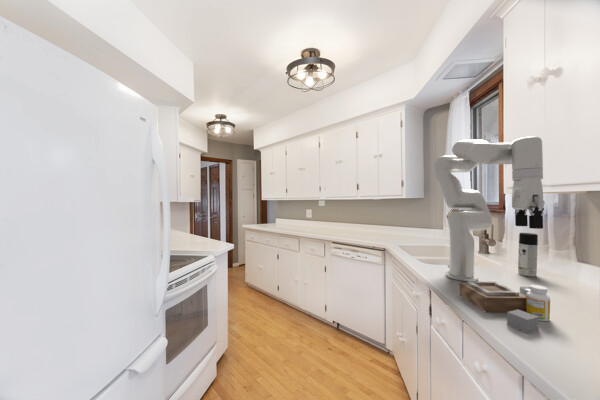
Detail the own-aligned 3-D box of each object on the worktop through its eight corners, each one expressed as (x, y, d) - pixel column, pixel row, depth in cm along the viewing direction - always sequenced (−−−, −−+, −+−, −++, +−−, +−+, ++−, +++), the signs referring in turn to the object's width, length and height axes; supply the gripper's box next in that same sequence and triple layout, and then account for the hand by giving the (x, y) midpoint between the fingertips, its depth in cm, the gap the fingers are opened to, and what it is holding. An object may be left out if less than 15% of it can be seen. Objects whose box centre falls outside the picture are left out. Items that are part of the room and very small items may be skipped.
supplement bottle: (537, 313, 82) (538, 283, 81) (554, 321, 76) (555, 290, 76) (521, 313, 81) (522, 284, 81) (537, 321, 76) (538, 290, 76)
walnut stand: (459, 295, 96) (459, 279, 96) (496, 295, 96) (496, 280, 96) (485, 312, 82) (486, 294, 82) (529, 312, 82) (529, 294, 82)
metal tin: (515, 294, 98) (515, 286, 98) (530, 294, 98) (531, 286, 98) (529, 300, 92) (529, 292, 92) (545, 300, 92) (546, 292, 92)
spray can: (518, 271, 125) (519, 232, 125) (537, 274, 120) (538, 233, 120) (517, 274, 120) (518, 233, 120) (536, 278, 116) (537, 235, 115)
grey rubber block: (507, 325, 74) (507, 311, 74) (518, 322, 76) (518, 309, 76) (526, 334, 70) (527, 319, 70) (538, 330, 71) (538, 316, 71)
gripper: (502, 178, 92) (503, 225, 91) (525, 172, 76) (526, 229, 75) (528, 177, 89) (529, 225, 89) (557, 171, 73) (559, 230, 73)
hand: (528, 227), depth 82 cm, fingers open, 9 cm apart
